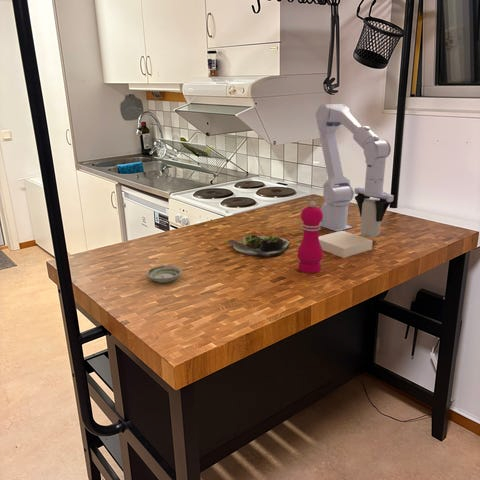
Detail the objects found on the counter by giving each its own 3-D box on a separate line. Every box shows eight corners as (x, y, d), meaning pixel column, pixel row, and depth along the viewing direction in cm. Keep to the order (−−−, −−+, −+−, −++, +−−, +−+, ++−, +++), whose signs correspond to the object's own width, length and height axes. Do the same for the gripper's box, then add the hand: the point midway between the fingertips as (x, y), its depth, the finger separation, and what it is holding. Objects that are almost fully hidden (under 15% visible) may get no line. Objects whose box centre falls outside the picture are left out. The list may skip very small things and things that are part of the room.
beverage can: (380, 238, 155) (383, 202, 152) (360, 237, 156) (363, 201, 153) (378, 232, 161) (381, 198, 158) (359, 231, 162) (362, 197, 159)
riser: (313, 246, 154) (314, 237, 153) (341, 239, 161) (342, 230, 160) (343, 257, 144) (344, 248, 143) (371, 249, 151) (372, 240, 150)
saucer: (189, 278, 130) (189, 270, 129) (162, 290, 123) (161, 281, 122) (166, 270, 136) (165, 262, 135) (139, 280, 129) (138, 272, 128)
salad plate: (217, 253, 149) (217, 239, 148) (240, 237, 165) (240, 224, 163) (275, 262, 142) (275, 247, 140) (293, 244, 157) (294, 231, 156)
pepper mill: (292, 266, 138) (294, 199, 131) (314, 263, 140) (317, 197, 134) (304, 275, 131) (307, 205, 125) (327, 271, 134) (330, 202, 127)
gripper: (401, 180, 149) (396, 221, 154) (365, 173, 161) (362, 212, 165) (386, 183, 146) (382, 225, 150) (351, 175, 157) (348, 215, 161)
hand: (371, 218), depth 157 cm, fingers closed on beverage can, 6 cm apart
